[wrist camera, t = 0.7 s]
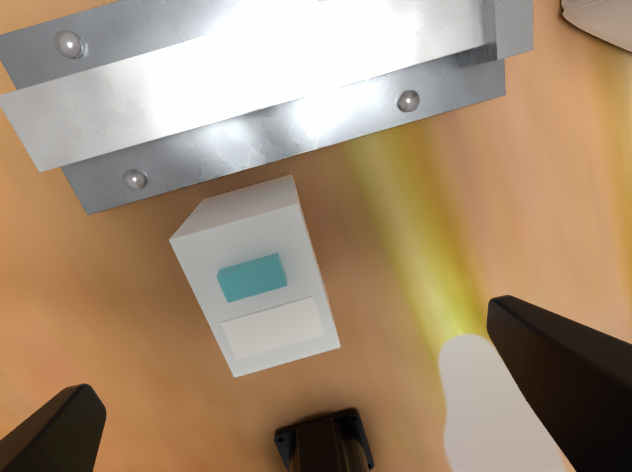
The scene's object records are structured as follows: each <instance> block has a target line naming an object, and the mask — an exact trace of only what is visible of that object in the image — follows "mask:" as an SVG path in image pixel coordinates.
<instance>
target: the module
mask: <svg viewBox="0 0 632 472" xmlns="http://www.w3.org/2000/svg"><path fill="white" fill-rule="evenodd" d="M169 242H170V244H171V246H172V248H173V250H174V252H175V254H176V257H177V259H178V261H179V263H180V265H181V267H182V269H183V271H184V273H185V275H186V278H187V280H188V282H189V284H190V286H191V288H192V290H193V292H194V294H195V296H196V298H197V301H198V303H199V305H200V307H201V309H202V311H203V313H204V315H205V317H206V319H207V322H208V324H209V326H210V328H211V330H212V332H213V334H214V336H215V338H216V340H217V343H218V345H219V347H220V349H221V351H222V353H223V355H224V357H225V359H226V361H227V364H228V366H229V368H230V370H231V372H232V374H233V376H234V378H236V377H239V376H243V375H246V374H250V373H253V372H257V371H260V370H263V369H267V368H270V367H274V366H277V365H281V364H284V363H288V362H291V361H295V360H298V359H302V358H305V357H309V356H312V355H316V354H319V353H323V352H326V351H330V350H333V349H336V348H340V347H341V346H340V342H339V338H338V334H337V330H336V326H335V323H334V319H333V315H332V311H331V307H330V303H329V299H328V295H327V292H326V288H325V284H324V280H323V277H322V273H321V270H320V269H319V266H318V263H317V259H316V256H315V253H314V249H313V246H312V242H311V239H310V236H309V232H308V229H307V226H306V222H305V219H304V215H303V212H302V209H301V205H300V201H299V197H298V192H297V189H296V185H295V182H294V178H293V175H292V174H289V175H285V176H282V177H278V178H275V179H271V180H268V181H264V182H261V183H257V184H254V185H251V186H247V187H244V188H240V189H237V190H233V191H230V192H226V193H223V194H219V195H216V196H212V197H209V198H205V199H203V200H202V201H201V202H200V204H199V205H198V206H197V207H196V208H195V209H194V211H193V212H192V213H191V214H190V215H189V217H188V218H187V219H186V220H185V221H184V223H183V224H182V225H181V226H180V227H179V229H178V230H177V231H176V232H175V233H174V235H173V236H172V237H171V238H170V239H169Z"/></svg>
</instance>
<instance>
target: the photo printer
mask: <svg viewBox="0 0 632 472" xmlns="http://www.w3.org/2000/svg"><path fill="white" fill-rule="evenodd" d="M561 5H562V8H563V9H564V11H563V16H564V18H565V19H567V20H568V21H569V22H570V23H572V24H573V25H575V26H576V27H578V28H580V29H581V30H583V31H585V32H588V33H590V34H592V35H594V36H596V37H598V38H600V39H603V40H605V41H607V42H609V43H611V44H614V45H616V46H618V47H621V48H623V49H626V50H628V51H630V52H632V0H561Z"/></svg>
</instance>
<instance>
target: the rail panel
mask: <svg viewBox="0 0 632 472" xmlns="http://www.w3.org/2000/svg"><path fill="white" fill-rule="evenodd" d="M531 50H533V0H121V1H117V2H114V3H110V4H107V5H103V6H100V7H96V8H93V9H89V10H86V11H82V12H79V13H75V14H72V15H68V16H65V17H61V18H58V19H54V20H51V21H48V22H44V23H41V24H37V25H34V26H30V27H27V28H23V29H20V30H16V31H13V32H9V33H6V34H2V35H0V60H1V62H2V64H3V65H4V67H5V69H6V71H7V73H8V74H9V76H10V78H11V80H12V82H13V83H14V85H15V87H16V89H17V90H16V91H13V92H9V93H6V94H2V95H0V106H1V108H2V110H3V111H4V113H5V115H6V116H7V118H8V120H9V121H10V123H11V125H12V127H13V128H14V130H15V132H16V133H17V135H18V137H19V138H20V140H21V142H22V143H23V145H24V147H25V149H26V150H27V152H28V154H29V155H30V157H31V159H32V160H33V162H34V164H35V165H36V167H37V169H38V171H39V172H43V171H47V170H50V169H54V168H58V167H61V169H62V170H63V172H64V174H65V176H66V178H67V179H68V181H69V183H70V185H71V186H72V188H73V190H74V192H75V194H76V195H77V197H78V199H79V201H80V202H81V204H82V206H83V208H84V210H85V211H86V213H87V215H89V214H92V213H96V212H99V211H103V210H106V209H110V208H113V207H117V206H120V205H124V204H127V203H131V202H134V201H138V200H141V199H145V198H148V197H152V196H155V195H159V194H162V193H166V192H169V191H173V190H176V189H179V188H183V187H186V186H190V185H193V184H197V183H200V182H204V181H207V180H211V179H214V178H218V177H221V176H225V175H228V174H232V173H235V172H239V171H242V170H246V169H249V168H253V167H256V166H260V165H263V164H266V163H270V162H273V161H277V160H280V159H284V158H287V157H291V156H294V155H298V154H301V153H305V152H308V151H312V150H315V149H319V148H322V147H326V146H329V145H333V144H336V143H340V142H343V141H347V140H350V139H353V138H357V137H360V136H364V135H367V134H371V133H374V132H378V131H381V130H385V129H388V128H392V127H395V126H399V125H402V124H406V123H409V122H413V121H416V120H420V119H423V118H427V117H430V116H434V115H437V114H440V113H444V112H447V111H451V110H454V109H458V108H461V107H465V106H468V105H472V104H475V103H479V102H482V101H486V100H489V99H493V98H496V97H500V96H503V95H506V91H505V65H504V58H507V57H510V56H514V55H517V54H521V53H524V52H528V51H531Z"/></svg>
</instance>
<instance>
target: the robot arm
mask: <svg viewBox="0 0 632 472" xmlns="http://www.w3.org/2000/svg"><path fill="white" fill-rule="evenodd" d="M487 332H488V334H489V337H490V339H491V340H492V342H493V344H494V346H495V347H496V349H497V351H498V353H499V354H500V356H501V358H502V360H503V361H504V363H505V365H506V366H507V368H508V370H509V372H510V373H511V375H512V377H513V379H514V380H515V382H516V384H517V386H518V387H519V389H520V391H521V392H522V394H523V396H524V397H525V399H526V401H527V402H528V403H529V405H530V406H531V408H532V409H533V411H534V412H535V414H536V415H537V416H538V418H539V419H540V421H541V422H542V423H543V425H544V426H545V428H546V429H547V431H548V432H549V433H550V435H551V436H552V438H553V439H554V441H555V442H556V443H557V445H558V446H559V448H560V449H561V450H562V452H563V453H564V455H565V456H566V457H567V459H568V460H569V462H570V463H571V464H572V466H573V467H574V469H575V470H576V471H577V472H632V344H630V343H627V342H625V341H622V340H620V339H617V338H615V337H612V336H610V335H607V334H605V333H602V332H600V331H597V330H595V329H592V328H590V327H588V326H585V325H583V324H580V323H578V322H575V321H573V320H570V319H568V318H565V317H563V316H560V315H558V314H555V313H553V312H550V311H548V310H546V309H543V308H541V307H538V306H536V305H533V304H531V303H528V302H526V301H523V300H521V299H518V298H516V297H513V296H510V295H504V296H500V297H495V298H492V299H490V301H489V304H488V314H487ZM105 421H106V408H105V406H104V404H103V403H102V401H101V400H100V399H99V397H98V396H97V394H96V393H95V391H94V390H93V388H92V387H91V386H90V385H88V384H79V385H74V386H70V387H67V388H65V389H63V390H62V391H61V392H59V393H58V394H57V395H56V396H54V397H53V398H52V399H51V400H49V401H48V402H47V403H46V404H45V405H43V406H42V407H41V408H40V409H38V410H37V411H36V412H35V413H33V414H32V415H31V416H30V417H29V418H27V419H26V420H25V421H24V422H22V423H21V424H20V425H19V426H17V427H16V428H15V429H14V430H13V431H11V432H10V433H9V434H8V435H6V436H5V437H4V438H3V439H1V440H0V472H93V468H94V464H95V460H96V456H97V452H98V448H99V444H100V440H101V437H102V433H103V429H104V425H105ZM274 442H275V444H276V446H277V449H278V451H279V453H280V455H281V457H282V459H283V462H284V464H285V466H286V468H287V470H288V472H369V471H370V470H372V469H373V468H374V462H373V458H372V455H371V451H370V448H369V445H368V441H367V438H366V435H365V431H364V428H363V425H362V421H361V418H360V415H359V412H358V411H357V410H355V409H351V410H347V411H344V412H340V413H337V414H333V415H330V416H327V417H323V418H320V419H316V420H313V421H309V422H306V423H302V424H299V425H295V426H292V427H288V428H285V429H281V430H278V431H276V432H275V434H274Z"/></svg>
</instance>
